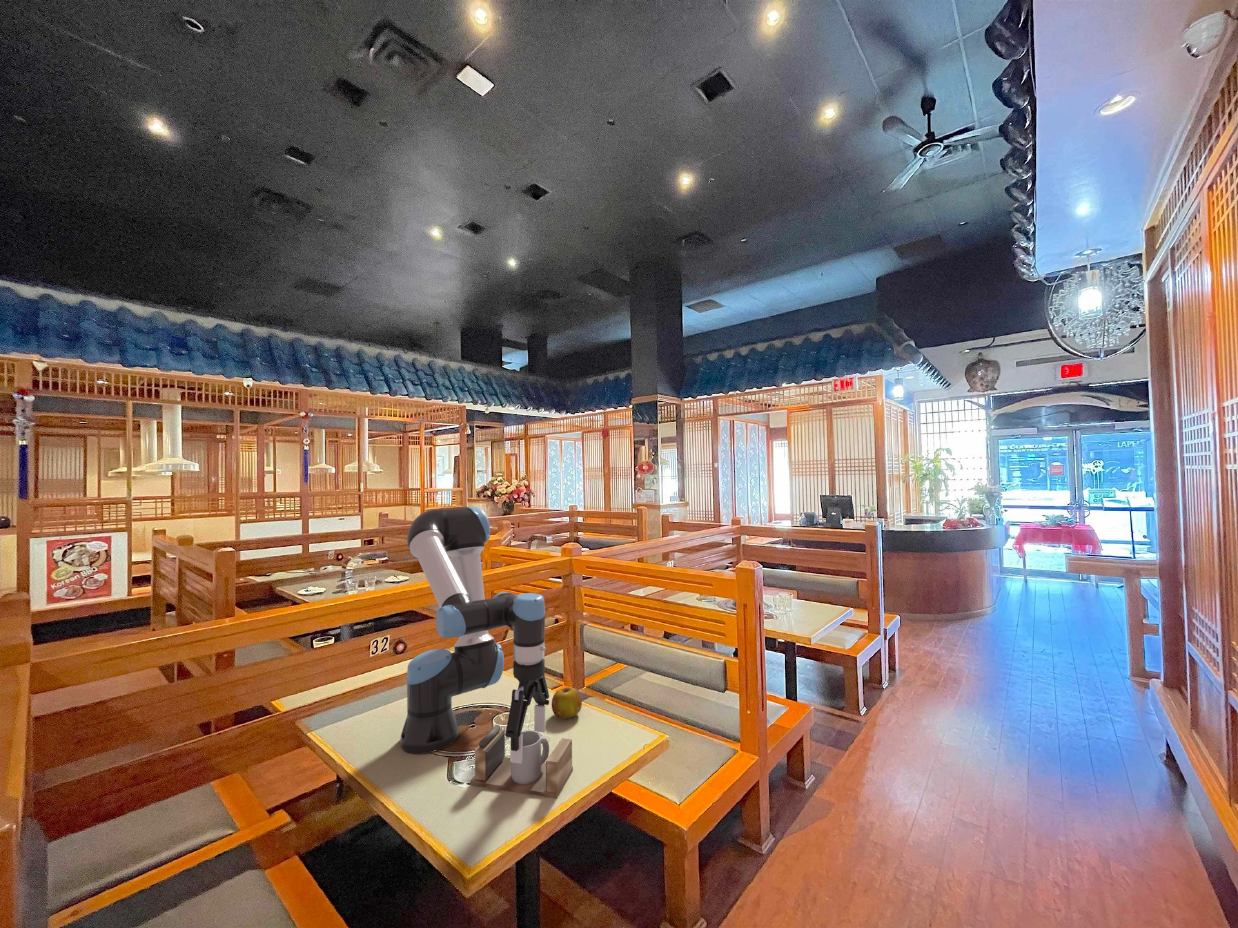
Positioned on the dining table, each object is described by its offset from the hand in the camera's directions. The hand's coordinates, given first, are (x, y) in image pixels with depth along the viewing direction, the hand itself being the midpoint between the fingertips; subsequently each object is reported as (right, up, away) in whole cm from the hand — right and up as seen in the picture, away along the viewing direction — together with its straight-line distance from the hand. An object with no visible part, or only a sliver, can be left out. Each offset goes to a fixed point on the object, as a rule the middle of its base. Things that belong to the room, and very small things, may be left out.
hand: (528, 745), depth 123 cm
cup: (+1, -7, 0) cm, 7 cm away
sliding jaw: (-10, -7, +2) cm, 12 cm away
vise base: (-1, -8, 0) cm, 8 cm away
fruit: (+6, -8, +30) cm, 32 cm away
